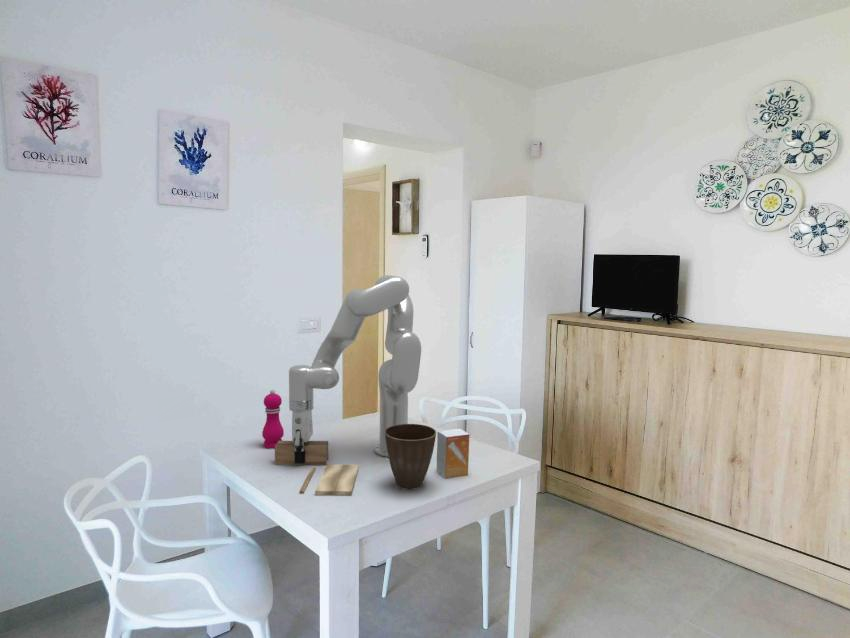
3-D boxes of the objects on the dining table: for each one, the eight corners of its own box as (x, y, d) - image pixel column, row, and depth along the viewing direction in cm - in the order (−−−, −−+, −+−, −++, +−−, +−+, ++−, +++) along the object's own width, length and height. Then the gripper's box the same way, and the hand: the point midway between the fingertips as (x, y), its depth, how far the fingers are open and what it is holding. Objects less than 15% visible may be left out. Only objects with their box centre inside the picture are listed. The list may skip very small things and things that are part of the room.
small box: (445, 479, 165) (446, 436, 164) (436, 471, 171) (436, 430, 170) (468, 475, 169) (470, 433, 167) (459, 467, 174) (460, 427, 173)
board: (359, 468, 172) (359, 464, 172) (351, 495, 152) (351, 491, 152) (312, 467, 172) (312, 464, 172) (298, 494, 152) (298, 490, 152)
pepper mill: (257, 447, 190) (257, 390, 188) (271, 441, 196) (270, 386, 194) (275, 450, 187) (274, 392, 185) (288, 444, 194) (287, 388, 192)
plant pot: (445, 487, 159) (446, 433, 157) (402, 499, 150) (403, 443, 149) (416, 471, 171) (417, 421, 169) (374, 481, 162) (375, 428, 161)
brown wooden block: (279, 458, 180) (279, 440, 179) (328, 458, 180) (328, 440, 179) (275, 464, 174) (274, 446, 174) (325, 464, 174) (325, 446, 174)
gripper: (307, 411, 167) (308, 469, 169) (318, 397, 184) (318, 450, 186) (283, 411, 166) (283, 469, 168) (295, 397, 184) (296, 450, 185)
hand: (302, 458), depth 177 cm, fingers closed on brown wooden block, 5 cm apart
